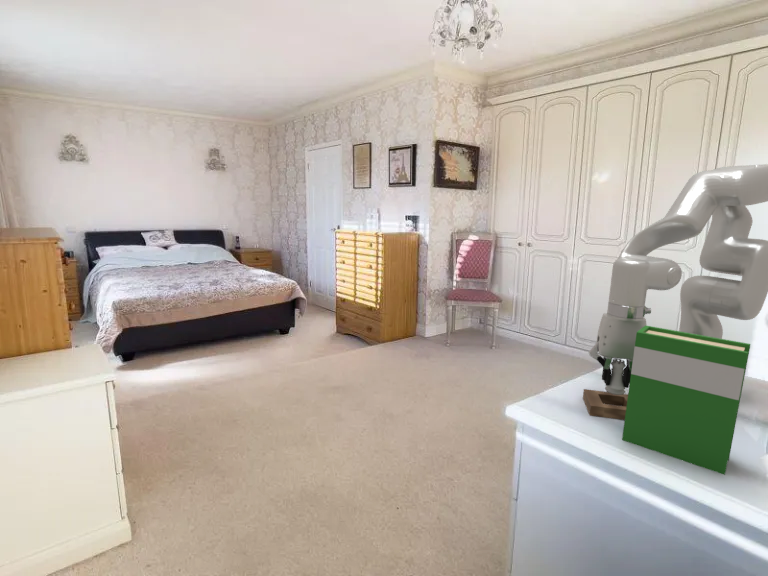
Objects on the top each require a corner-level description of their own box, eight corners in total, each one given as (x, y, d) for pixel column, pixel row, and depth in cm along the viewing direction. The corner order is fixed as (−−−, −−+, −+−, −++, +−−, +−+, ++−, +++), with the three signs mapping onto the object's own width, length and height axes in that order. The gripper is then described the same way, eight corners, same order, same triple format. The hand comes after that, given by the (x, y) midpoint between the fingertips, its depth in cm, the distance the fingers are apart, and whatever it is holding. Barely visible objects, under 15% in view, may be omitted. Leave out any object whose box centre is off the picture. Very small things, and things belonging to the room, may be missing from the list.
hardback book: (729, 458, 88) (750, 344, 84) (724, 474, 83) (747, 353, 78) (631, 427, 100) (645, 325, 95) (622, 440, 94) (636, 332, 90)
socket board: (651, 406, 110) (652, 397, 110) (665, 425, 101) (666, 415, 101) (582, 398, 115) (583, 389, 114) (589, 415, 105) (590, 405, 105)
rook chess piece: (627, 396, 105) (632, 364, 103) (607, 394, 106) (611, 362, 104) (621, 389, 109) (625, 358, 108) (602, 387, 110) (606, 356, 108)
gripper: (659, 310, 105) (649, 383, 108) (584, 304, 109) (576, 374, 113) (670, 318, 98) (659, 395, 101) (590, 311, 102) (581, 386, 106)
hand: (615, 383), depth 107 cm, fingers closed on rook chess piece, 3 cm apart
